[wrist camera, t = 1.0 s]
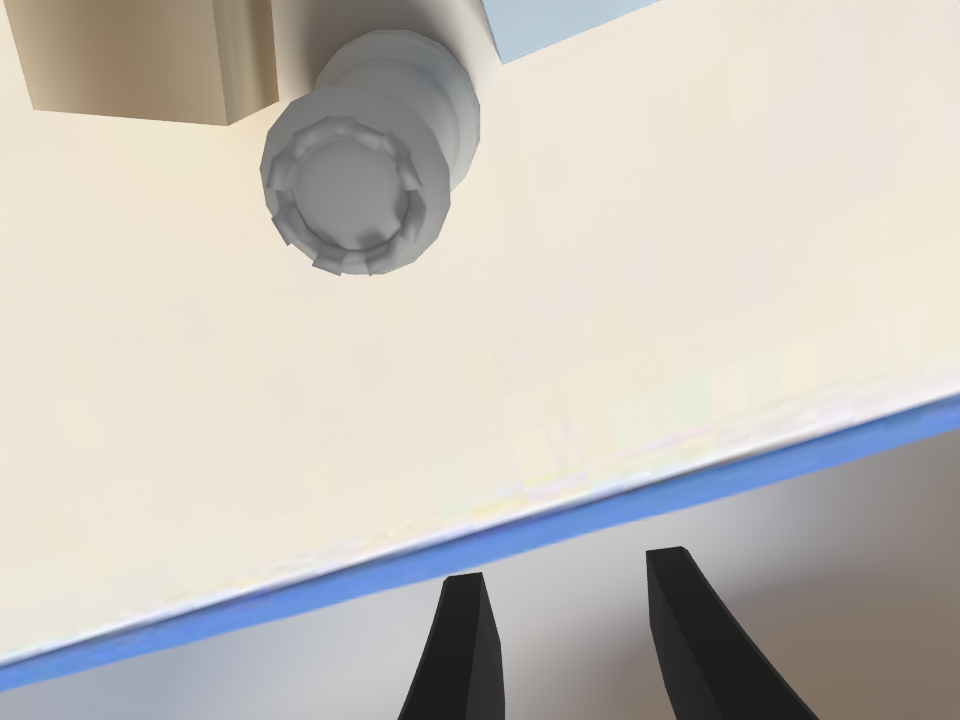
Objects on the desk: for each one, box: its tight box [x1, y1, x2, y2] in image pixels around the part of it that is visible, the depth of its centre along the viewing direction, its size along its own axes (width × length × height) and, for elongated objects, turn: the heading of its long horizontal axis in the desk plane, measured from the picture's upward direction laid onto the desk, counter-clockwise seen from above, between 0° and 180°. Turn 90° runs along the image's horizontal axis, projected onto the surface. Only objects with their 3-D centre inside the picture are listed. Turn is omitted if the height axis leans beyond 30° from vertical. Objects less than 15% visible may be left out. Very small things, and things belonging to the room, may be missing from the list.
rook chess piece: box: [260, 29, 480, 276], centre depth 13 cm, size 4×4×8 cm
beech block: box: [3, 0, 279, 126], centre depth 13 cm, size 4×4×4 cm
